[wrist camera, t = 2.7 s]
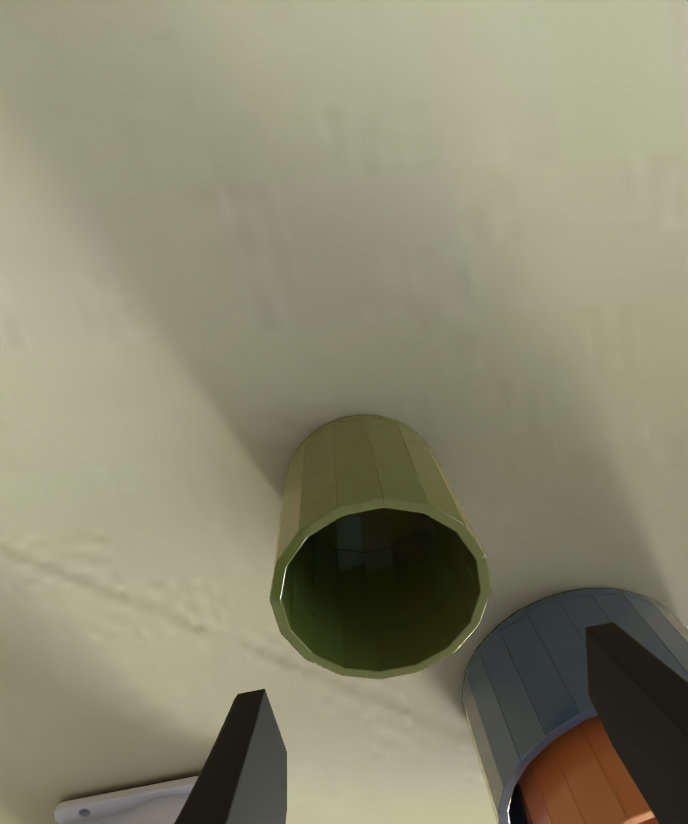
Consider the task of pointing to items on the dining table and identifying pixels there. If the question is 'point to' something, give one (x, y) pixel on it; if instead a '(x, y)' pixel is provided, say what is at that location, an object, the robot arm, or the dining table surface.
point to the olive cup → (374, 553)
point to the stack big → (549, 679)
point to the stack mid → (581, 782)
